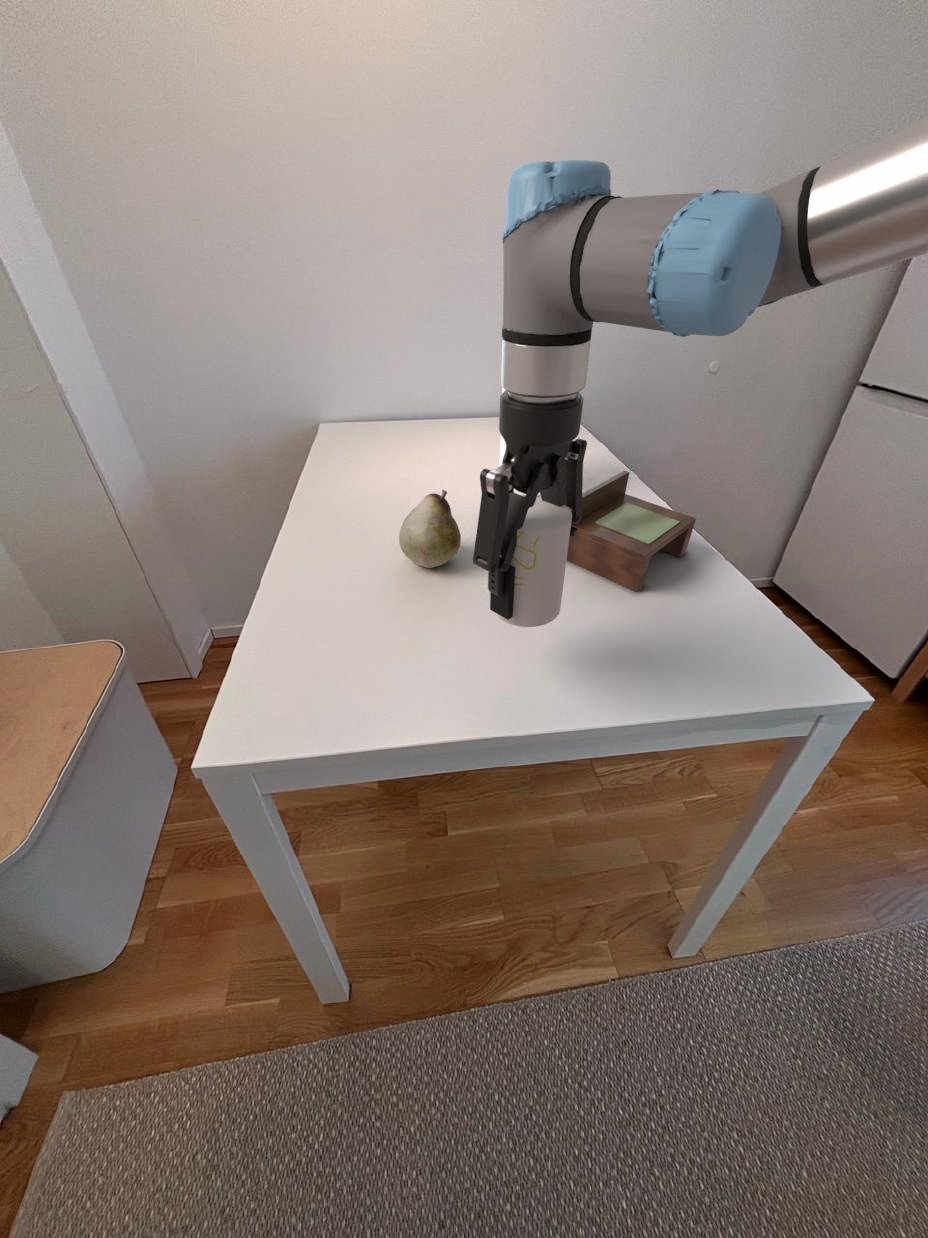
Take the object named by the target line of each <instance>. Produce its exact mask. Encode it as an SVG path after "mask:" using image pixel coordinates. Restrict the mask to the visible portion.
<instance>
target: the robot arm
mask: <svg viewBox="0 0 928 1238" xmlns="http://www.w3.org/2000/svg"><path fill="white" fill-rule="evenodd" d="M611 177H612V175H611V170H610V167H609V165H608V164H607V163H605V162H603V161H599V160H582V159H581V160H578V159H576V160H558V161H536V162H535V161H534V162H527V163H524V164H520V165H519V166H518V167H516V168H515V169H514V170H513V172H512V173H511V174H510V177H509V180H508V184H507V191H506V192H507V193H506V202H505V203H506V205H505V214H504V215H505V216H504V227H503V232H502V236H501V238H502V239H501V240H502V246H503V248H502V249H503V251H502V252H503V256H502V258H503V260H502V261H503V262H502V263H503V270H502V271H503V277H502V278H503V279H502V281H503V286H502V287H503V289H502V292H503V294H502V328H501V337H502V339H501V340H502V341H501V343H502V344H501V369H500V387H503V388H504V389H505V390H506V391H504V392H503V394H502V393H501V394H500V396H499V411H498V412H499V413H498V415H499V416H498V431H499V434H500V436H501V435H502V437H503V439H504V441H505V443H506V451H505V454H504V457H503V460H502V465H501V466H499V465H498V467H496V468H495V469H493V470H492V469H489V468H483V469H482V470H481V471H480V474H479V482H480V490H481V497H480V504H479V513H478V520H477V526H476V534H475V541H474V549H473V557H472V563H473V565H475V566H477V567H479V568H481V569H482V570H484V571H486V572H487V580H488V581H487V589H488V592H490V593H489V594H490V596H489V598H490V599H489V610H490V611H491V612H493V613H494V612H495V613H497V614H499V615H500V616H502V617H504V618H506V619H507V620H509V619H510V618H512V617H513V599H514V582H515V567H513V566H511V565H510V564H511V561H512V558H513V554H514V551H515V548H516V544H517V530H518V529H520V528H522V527H523V524H524V521H525V518H526V515H527V512H528V509H529V508H530V507H532V506H534V504H535V501H536V498H537V497H538V496H537V495H538V493H539V492H540V494H541V496H540V497H541V498H542V500H543V501H545V502H548V503H551V504H553V505H556V506H558V507H561V506H563V505H566V506H567V507H568V508H569V507H570V508H572V510H570V511H571V512H572V521H571V529H570V536H572V537H573V536H575V534H576V532H577V528H576V527H573V526H572V524H573V523H575V524H578V523H579V522H580V521H581V517H582V493H583V485H584V484H583V482H584V481H583V480H584V478H583V477H584V460H585V455H586V452H587V448H588V447H587V446H588V441H587V440H586V439H583V438H579V437H578V436H579V434H580V431H581V424H582V423H581V422H582V414H583V405H584V397H583V396H582V394H581V391H583V390H584V389H585V388H586V386H587V377H588V370H589V369H588V368H589V359H590V350H591V340H592V333H593V326H594V323H603V324H611V325H617V326H618V325H619V326H626V327H633V328H640V329H647V330H651V331H653V330H654V331H660V332H665V333H672V335H673V336H677V337H682V338H686V337H689V336H693V335H695V336H709V337H724V336H728V335H730V334H732V333H735V332H736V331H738V330H740V328H741V327H743V325H744V324H745V323H746V321H747V320H748V317H751V316H752V315H753V314H754V312H755V311H756V309H757V308H760V307H764V306H767V305H771V304H774V303H776V302H779V301H780V300H783V299H784V298H788V297H791V296H794V295H797V294H801V293H804V292H807V291H811V290H814V289H817V288H818V287H822V286H825V285H827V284H831V283H834V282H838V281H840V280H845V279H847V278H851V277H855V276H857V275H861V274H864V273H867V272H868V273H869V272H870V271H874V270H878V269H880V268H884V267H887V266H891V265H893V264H897V263H900V262H904V261H907V260H911V259H913V258H917V257H920V256H924V255H927V254H928V115H927V116H925V117H922V118H921V119H918V120H916V121H913V122H911V123H909V124H907V125H905V126H903V127H901V128H898V129H896V130H895V131H892V132H890V133H887V134H886V135H883V136H881V137H878V138H877V139H874V140H873V141H870V142H868V143H865V144H864V145H861V146H859V147H857V148H855V149H853V150H850V151H848V152H846V153H844V154H842V155H840V156H838V157H835V158H833V159H830V160H829V161H826V162H824V163H822V164H821V165H820V166H817V167H815V168H813V169H810V170H807V171H804V172H802V173H800V174H798V175H796V176H793V177H791V178H789V179H787V180H785V181H783V182H780V183H778V184H777V185H773V186H772V187H770V188H767V189H765V190H763V191H761V192H758V193H757V192H740V191H738V190H731V189H730V190H719V188H718V189H715V190H707V191H704V192H692V193H691V192H690V193H672V194H656V195H643V196H642V195H641V196H629V197H628V196H626V197H623V196H619V195H618V196H615V195H612V189H611V179H612V178H611ZM514 489H515V490H517V491H519V492H521V493H524V494H526V495H519V494H516V493H514ZM500 555H501V557H500Z"/></svg>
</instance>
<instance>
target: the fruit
mask: <svg viewBox="0 0 928 1238" xmlns="http://www.w3.org/2000/svg"><path fill="white" fill-rule="evenodd" d="M447 494H448V492H447V490H445V489H442V490H441V495H440V494H438V493H435V492H433V493H429V494H427V495H425V497H424V498H423V499H422V500H421V501H420V503H419V504H417V506H416V507H414V508H413V509H412V510H411V511H410V512H409V514H408V515H407V516H406V517H405V519H404V520H403V522H402V525H401V526H400V530H399V534H398V537H399V538H398V543H399V547H400V549H401V552H402V553H403V555H404V556H405V557H407V558H408V559H409V560H410V561H411V562H412V563H414V564H415V565H418V566H420V567H423V568H426V569H432V568H436V567H439V566H442V565H444V564H445V565H446V563H448V562H450V560H452V559H453V558H454V557H455V556H456V554H457V553H458V551H459V549H460V548H461V542H462V541H461V540H462V536H461V534H462V533H461V531H460V528H459V525H458V523H457V521H456V520H455V518H454V517H453V514H452V510H451V505H450V503H449V502H448V500H447V499H446V496H447Z"/></svg>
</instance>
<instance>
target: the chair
mask: <svg viewBox="0 0 928 1238" xmlns="http://www.w3.org/2000/svg"><path fill="white" fill-rule="evenodd" d="M629 477H630V471H627V470H623V471H621V472H619V473H618V474H617V473H616V474H615V475H614V476H612V477H610V478H608V479H606V480H604V481H602V482H601V483H599V484H597V485H595V486H594V487H591V488H589V489H588V490H586V491H584V492H582V517H581V521H580V522H579V523H578V524H575V523H573V524H572V526H573V527H576V528H577V532H576V534H575V536H573V537H572V536H570V537H569V545H568V552H567V560H566V562H569V563H572V564H574V565H576V566H578V567H580V568H583V569H585V570H587V571H589V572H592V573H593V574H595V575H598V576H601V577H602V578H604V579H606V580H609V581H611V582H613V583H615V584H617V585H619V586H622V587H623V588H626V589H628V590H631V591H633V592H635V593H637V592H639V591H640V590H641V589H642V588H643V587H644V585H645V580H646V576H647V573H648V569H649V566H650V561H651V558H652V556H654V555H655V554H656V553H657V552H659V551H663V552H665V553H668V554H670V555H674V556H676V557H678V558H681V557H682V556H684V555H685V554H686V553H687V549H688V546H689V543H690V540H691V537H692V534H693V530H694V527H695V524H696V520H697V518H696V517H693V516H691V515H688V514H685V513H682V512H679V511H676V510H673V509H670V508H667V507H664V506H662V505H658V504H656V503H653V502H651V501H647V500H644V499H641V498H638V497H635V496H633V495H630V494H627V493H626V492H627V488H628V487H627V486H628V482H629ZM568 508H569V509H570V510H572V508H570V507H568Z"/></svg>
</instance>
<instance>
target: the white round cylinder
mask: <svg viewBox="0 0 928 1238" xmlns="http://www.w3.org/2000/svg"><path fill="white" fill-rule="evenodd" d="M571 521H572V512H571V511H570V509H569V507H567V506H566V505H563V506H561V507H558V506H556V505H553V504H551V503H548V502H545V501H543V500H542V498H541V496H537V498H536V501H535V504H534V506H532V507H530V508H529V509H528V512H527V515H526V518H525V521H524V524H523V527H522V528H520V529H518V530H517V544H516V548H515V551H514V554H513V558H512V561H511V564H510V565H511V566H513V567H515V582H514V599H513V617H512V618H510V619H509V620H507V619H506V618H504V617H502V616H500V615H499V614H497V613H495V612H493V614H494V616H496V617H497V618H498V619H499V620H501V621H502V622H504V623H507V624H509V625H512V626H516V627H521V628H535V627H541V626H545V625H547V624H550V623H551V622H553V621H554V620H556V618H557V617H558V616H559V614H560V612H561V606H562V599H563V591H564V583H565V582H564V581H565V575H566V567H567V552H568V545H569V537H570V529H571ZM500 557H501V555H500Z"/></svg>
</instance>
